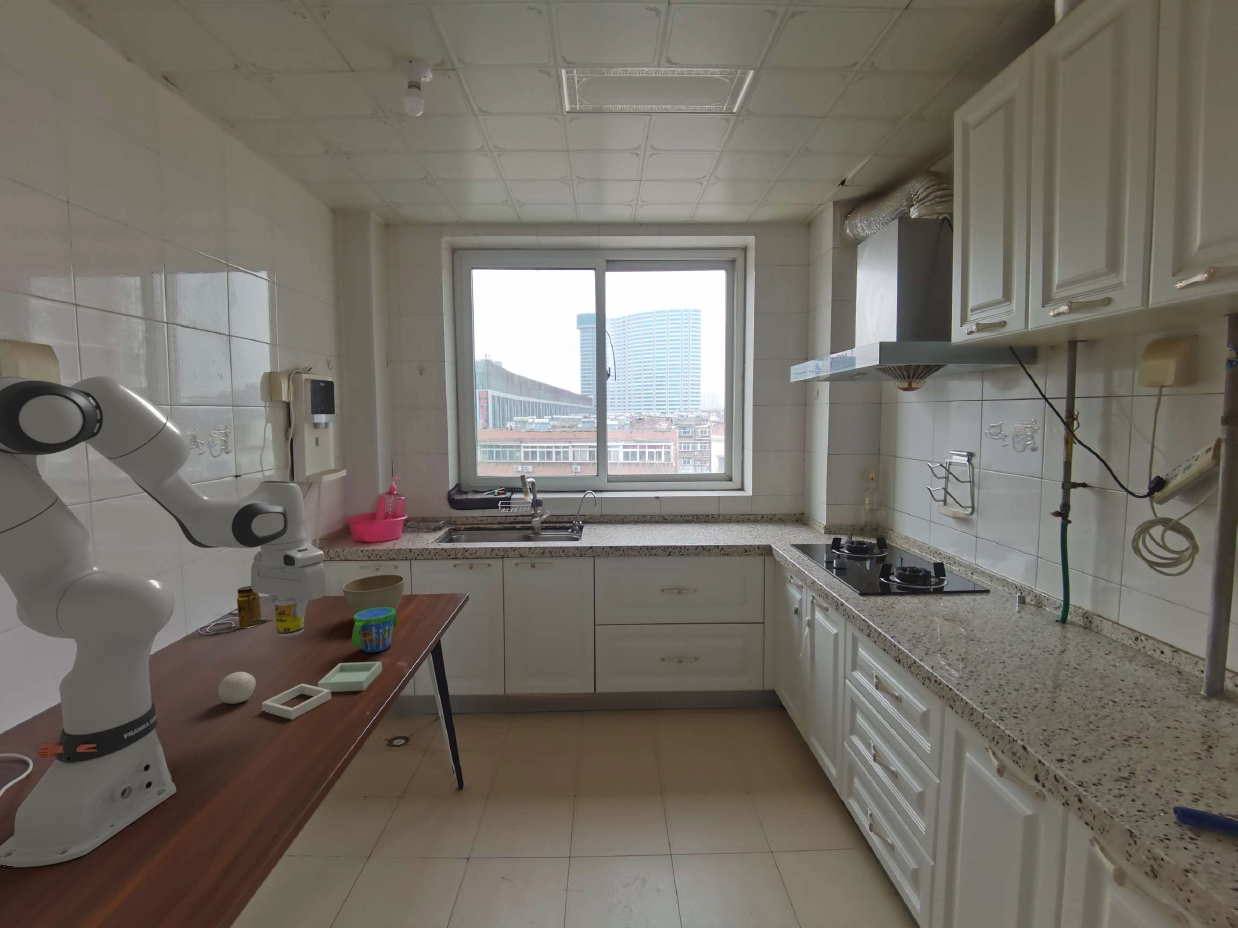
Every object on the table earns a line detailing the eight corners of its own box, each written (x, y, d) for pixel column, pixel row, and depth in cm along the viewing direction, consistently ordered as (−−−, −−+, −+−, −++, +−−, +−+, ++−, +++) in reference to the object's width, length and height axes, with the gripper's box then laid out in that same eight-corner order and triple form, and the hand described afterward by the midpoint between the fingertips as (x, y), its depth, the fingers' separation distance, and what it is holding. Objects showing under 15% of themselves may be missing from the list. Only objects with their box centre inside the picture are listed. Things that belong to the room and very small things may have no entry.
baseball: (264, 694, 132) (262, 667, 131) (236, 710, 125) (233, 681, 124) (242, 692, 134) (239, 664, 133) (212, 707, 127) (209, 678, 126)
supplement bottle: (272, 635, 124) (269, 592, 123) (295, 627, 129) (292, 586, 128) (286, 638, 122) (283, 595, 121) (309, 630, 126) (306, 588, 125)
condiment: (232, 626, 179) (229, 589, 178) (257, 617, 187) (254, 582, 186) (249, 628, 177) (245, 591, 176) (273, 619, 184) (270, 583, 184)
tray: (363, 690, 132) (363, 680, 132) (318, 692, 132) (317, 682, 132) (382, 670, 143) (381, 661, 143) (340, 671, 143) (339, 663, 143)
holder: (331, 698, 129) (330, 690, 129) (292, 719, 120) (291, 710, 120) (302, 691, 133) (302, 683, 133) (262, 711, 124) (262, 702, 124)
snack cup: (384, 635, 167) (382, 602, 166) (412, 640, 163) (409, 605, 162) (339, 656, 152) (336, 620, 152) (368, 662, 148) (365, 624, 147)
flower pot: (350, 614, 187) (347, 578, 186) (408, 606, 193) (405, 572, 192) (341, 633, 170) (338, 593, 169) (404, 624, 175) (402, 586, 174)
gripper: (240, 553, 125) (245, 614, 126) (303, 560, 117) (307, 625, 118) (267, 547, 131) (272, 605, 132) (329, 553, 123) (334, 615, 124)
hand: (289, 615), depth 125 cm, fingers closed on supplement bottle, 5 cm apart
